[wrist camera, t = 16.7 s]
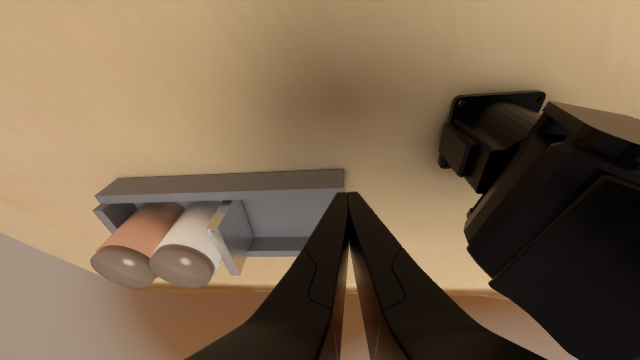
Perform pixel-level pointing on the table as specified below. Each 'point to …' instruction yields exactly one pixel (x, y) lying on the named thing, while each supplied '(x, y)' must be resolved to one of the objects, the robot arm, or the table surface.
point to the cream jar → (188, 248)
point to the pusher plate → (231, 234)
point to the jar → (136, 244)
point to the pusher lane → (251, 188)
